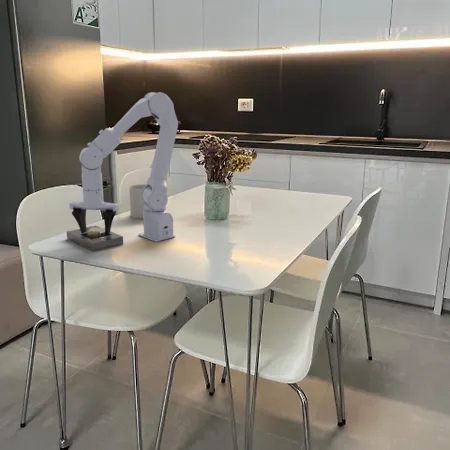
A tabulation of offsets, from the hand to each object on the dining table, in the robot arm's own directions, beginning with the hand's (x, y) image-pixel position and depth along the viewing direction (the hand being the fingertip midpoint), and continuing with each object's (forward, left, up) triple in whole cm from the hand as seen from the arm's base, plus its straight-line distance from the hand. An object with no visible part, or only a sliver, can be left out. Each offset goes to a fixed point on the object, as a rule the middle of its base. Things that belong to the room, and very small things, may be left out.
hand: (95, 233), depth 138 cm
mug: (+15, -29, -3) cm, 33 cm away
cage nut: (0, 0, -3) cm, 3 cm away
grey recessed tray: (+1, 0, -3) cm, 3 cm away
